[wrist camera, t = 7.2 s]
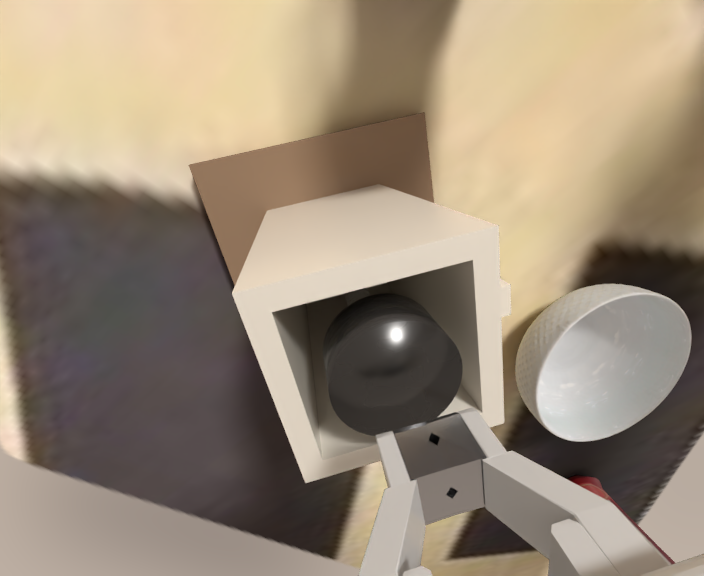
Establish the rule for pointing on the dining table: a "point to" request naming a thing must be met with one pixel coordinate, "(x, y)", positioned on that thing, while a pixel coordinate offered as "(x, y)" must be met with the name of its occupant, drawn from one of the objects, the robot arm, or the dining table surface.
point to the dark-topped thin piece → (388, 363)
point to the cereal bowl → (601, 359)
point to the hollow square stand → (351, 269)
